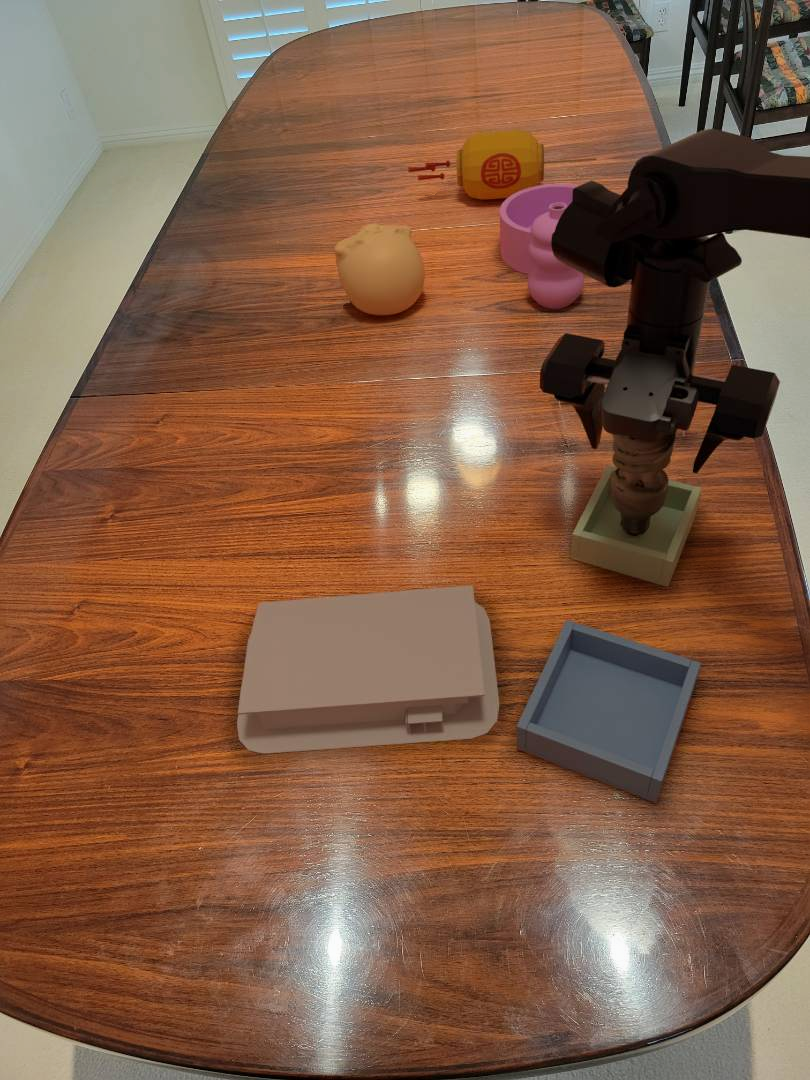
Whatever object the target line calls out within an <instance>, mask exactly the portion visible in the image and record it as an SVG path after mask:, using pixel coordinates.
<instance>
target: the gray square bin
mask: <svg viewBox="0 0 810 1080" xmlns="http://www.w3.org/2000/svg"><path fill="white" fill-rule="evenodd" d="M701 666H702V663H701V662H700V661H696V660H693V659H691V658H687V657H684V656H681V655H678V654H675V653H672V652H669V651H666V650H664V649H663V650H662V649H660V648H656V647H653V646H651V645H647V644H644V643H642V642H641V643H640V642H638V641H635V640H631V639H628V638H625V637H622V636H619V635H616V634H612V633H610V632H607V631H604V630H600V629H597V628H594V627H591V626H588V625H585V624H583V623H579V622H575V621H572V620H569V619H566V620H565V623H564V624H563V626H562V627H561V631H560V633H559V635H558V637H557V639H556V641H555V643H554V646H553V648H552V650H551V652H550V654H549V657H548V658H547V661H546V663H545V665H544V667H543V669H542V672H541V673H540V675H539V677H538V679H537V681H536V684H535V686H534V688H533V690H532V692H531V694H530V696H529V699H528V701H527V703H526V706H525V707H524V709H523V712H522V714H521V716H520V718H519V720H518V722H517V724H516V749H517V750H519V751H522V752H523V753H526V754H529V755H532V756H534V757H537V758H540V759H541V760H544V761H547V762H550V763H553V764H555V765H558V766H560V767H563V768H565V769H568V770H571V771H573V772H575V773H578V774H581V775H583V776H586V777H588V778H591V779H594V780H595V781H599V782H601V783H604V784H606V785H609V786H612V787H614V788H615V789H616V788H617V789H618V790H622V791H623V792H627V793H629V794H632V795H634V796H637V797H639V798H642V799H644V800H647V801H650V802H652V803H655V804H657V803H658V801H659V798H660V795H661V791H662V788H663V785H664V782H665V780H666V776H667V773H668V771H669V767H670V765H671V761H672V758H673V756H674V751H675V749H676V746H677V744H678V743H677V742H678V739H679V737H680V734H681V730H682V728H683V724H684V721H685V718H686V715H687V712H688V709H689V706H690V703H691V700H692V697H693V694H694V691H695V687H696V685H697V681H698V676H699V673H700V670H701Z"/></svg>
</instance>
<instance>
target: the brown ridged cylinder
mask: <svg viewBox="0 0 810 1080" xmlns="http://www.w3.org/2000/svg"><path fill="white" fill-rule="evenodd" d="M677 432H678V429H677V430H675V431H674V434H673V435H671V434H666V433H663V435H662V437H661V438H660V439H659V440H657V441H655V442H644V441H641V440H639V439H636V438H632V437H628V436H623V435H619V434H618V435H614V434H611V435H612V439H613V443H612V451H613V452H614V453H613V455H612V458H611V460H612V464H613V466H614V467H617V468H616V469H615V470H614V472H613V473H612V475H611V487H610V491H611V499H612V502H613V504H614V506H615V508H616V509H617V510H618V511H619V512H620V513H621V522H620V525H621V526H622V528H623V530H624V531H626V533H627V534H629V535H632V536H637V535H642V534H644V533H645V532H646V531H647V530H648V528H649V526H650V517H651V516H652V515H654V514H655V513H657V512H658V511H659V510H660V509H661V508H662V507H663V505H664V503H665V499H666V494H667V491H668V481H669V480H670V479H669V477H668V474H667V473H666V471H665V470H664V469H666V468H667V467H668V466H669V465H670V462H671V461H672V459H671V457H672V455H673V452H674V451H673V450H674V446H675V443H676V438H677V435H676V434H677Z"/></svg>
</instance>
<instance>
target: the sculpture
mask: <svg viewBox="0 0 810 1080" xmlns="http://www.w3.org/2000/svg"><path fill="white" fill-rule="evenodd" d="M412 231H413V229H412V227H411V226H409V225H403V224H402V225H400V224H396V225H395V224H390V225H385V224H381V225H380V224H379V223H375V222H374V223H368V224H366V225H364V226H363V227H360V229H359V230H358V232H357V233H355V234H354V235H351V236H349V237H347V238H344V239H341V240H340V241H338V242H337V243H336V244H335V246H334V248H333V251H334V254H335V263H336V266H337V274H338V278H339V281H340V283H341V285H342V288H343V291H344V292H345V294H346V295H345V296H347V298H348V300H349V301H350V302H351V305H353V306H354V307H355V308H356V309H357V310H359V311H361V312H363V313H366V314H369V315H374V316H391V315H396V314H400V313H402V312H405V311H406V310H407V309H409V308H410V307H412V306H413V305H414V304H415V303H416V302H417V301H418V300H419V298H420V296H421V295H422V291H423V288H424V286H425V279H426V270H425V264H424V260H423V256H422V254H421V252H420V250H419V248H418V247H417V245H416V244H415V242H414V240H413V237H412Z"/></svg>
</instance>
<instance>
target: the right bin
mask: <svg viewBox="0 0 810 1080" xmlns="http://www.w3.org/2000/svg"><path fill="white" fill-rule="evenodd" d="M616 468H617V467H616V466H615V465H610V464H607V465H606V466H605V469H604V470H603V472H602V475H601V476H600V478H599V480H598V482H597V484H596V486H595V488H594V490H593V492H592V493H591V496H590V498H589V500H588V502H587V504H586V506H585V507H584V510H583V512H582V513H581V515H580V518H579V520H578V521H577V524H576V526H575V528H574V529H573V532H572V534H571V550H570V559H571V560H574V561H577V562H581V563H585V564H588V565H591V566H595V567H598V568H601V569H604V570H607V571H608V570H609V571H611V572H615V573H618V574H622V575H625V576H629V577H632V578H635V579H639V580H642V581H646V582H650V583H653V584H656V585H658V586H659V585H660V586H662V587H666V588H669V586H670V583H671V580H672V578H673V576H674V573H675V570H676V568H677V566H678V562H679V560H680V557H681V555H682V553H683V549H684V547H685V546H686V545H685V544H686V542H687V539H688V537H689V534H690V531H691V529H692V526H693V524H694V521H695V519H696V516H697V513H698V509H699V506H700V505H699V504H700V500H701V494H702V490H703V488H702V487H700V486H696V485H692V484H688V483H685V482H680V481H676V480H672V479H668V480H669V481H668V491H667V494H666V499H665V503H664V505H663V507H662V508H661V509H660V510H659V511H658V512H657V513H655V514H654V515H652V516H651V517H650V526H649V528H648V530H647V531H646V532H645V533H644V534H642V535H637V536H632V535H629V534H627V533H626V531H624V530H623V528H622V526H621V525H620V522H621V513H620V512H619V511H618V510H617V509H616V508H615V506H614V504H613V502H612V499H611V491H610V487H611V475H612V473H613V472H614V470H615V469H616Z"/></svg>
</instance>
